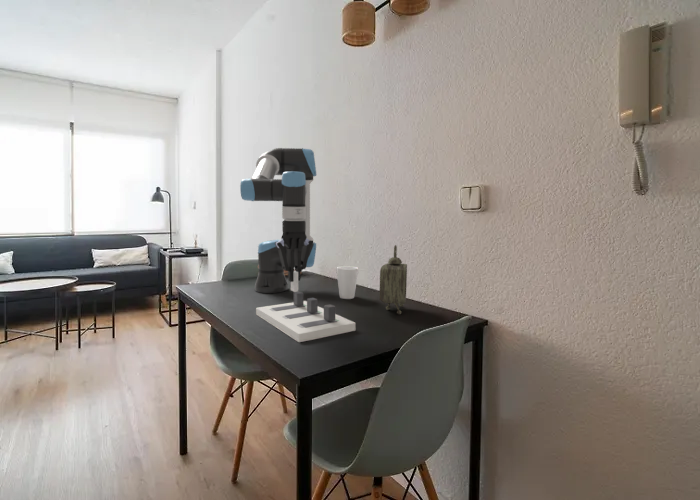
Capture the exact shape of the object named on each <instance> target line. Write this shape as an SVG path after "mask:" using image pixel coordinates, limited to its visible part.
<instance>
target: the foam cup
mask: <svg viewBox="0 0 700 500" xmlns="http://www.w3.org/2000/svg"><path fill="white" fill-rule="evenodd" d="M358 274H359V267H358V266H352V265H345V266H344V265H342V266H341V265H340V266H337V267H336V278H337V284H338V285H337V286H338V295H339V299H344V300H351V299H354V298H355V296H356V294H355V293H356V288H357V281H358Z"/></svg>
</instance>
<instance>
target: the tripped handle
mask: <svg viewBox="0 0 700 500" xmlns="http://www.w3.org/2000/svg"><path fill="white" fill-rule="evenodd" d="M306 301H307V312H309V313H316V312H318V306H319V305H318V304H319V303H318V302H319V300H318V298H315V297H309V298H306Z"/></svg>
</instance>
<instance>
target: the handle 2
mask: <svg viewBox="0 0 700 500" xmlns="http://www.w3.org/2000/svg"><path fill="white" fill-rule="evenodd" d="M323 309H324V319H325V320H327V321H333V320H335V314H336V305H334V304H325V305H323Z"/></svg>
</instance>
